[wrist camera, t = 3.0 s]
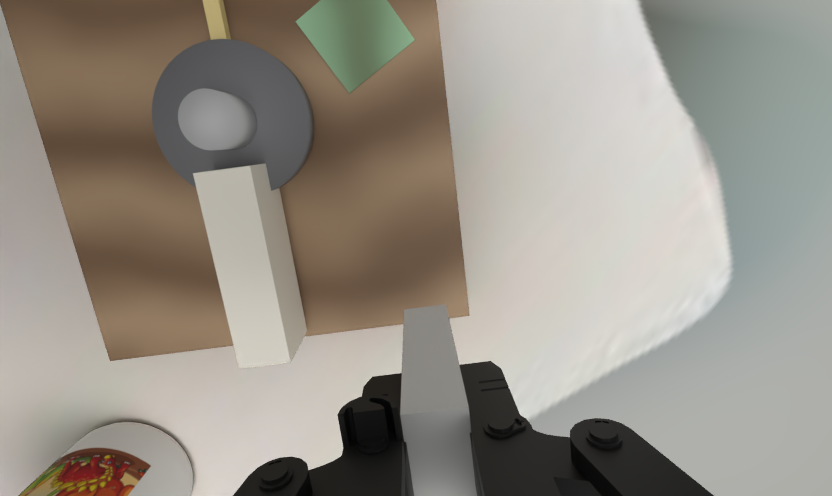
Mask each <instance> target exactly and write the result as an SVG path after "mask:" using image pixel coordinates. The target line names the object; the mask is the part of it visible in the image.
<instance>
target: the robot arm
mask: <svg viewBox="0 0 832 496" xmlns="http://www.w3.org/2000/svg"><path fill="white" fill-rule="evenodd" d="M338 420H339V425H340V431H341V436H342V442H343V447H344V448H343V453H342V456H341V457H339V458H338V459H336V460H334V461H333V462H330V463H328V464H326V465H323V466H320V467H317V468H314V469H312V470H309V471H308V466H307V463H305V462H304V461H303V460H302V459H300V458H295V457H283V458H278V459H275V460H272V461H269V462H267V463H265V464H264V465H262V466H260V467H258V468H257V469H256V470H255V471H254V472H253V473H252V474H250V475H249V476H248V478H247V479H246V480H245V481H244V483H243V484H242V485H241V486H240V488H239V489H238V490H237V491H236V493H235V494H234V495H233V496H713V495H712V494H711V493H710V492H708V491H707V490H706V489H705V488H704V487H702V486H701V485H700V484H699V483H697V482H696V481H695V480H694V479H692V478H691V477H690V476H689V475H687V474H686V473H685V472H683V471H682V470H681V469H680V468H679V467H677V466H676V465H675V464H674V463H673V462H671V461H670V460H669V459H668V458H666V457H665V456H664V455H663V454H661V453H660V452H659V451H658V450H656V449H655V448H654V447H653V446H651V445H650V444H649V443H648V442H647V441H645V440H644V439H643V438H642V437H640V436H639V435H638V434H637V433H635V432H634V431H633V430H631V429H630V428H628V427H627V426H625V425H623V424H622V423H619V422H616V421H612V420H609V419H598V418H595V419H588V420H583V421H581V422H579V423H577V424H575V425H574V427H573V428H572V429H571V431H570V437H560V436H552V435H546V434H543V433H540V432H537V431H535V430H533V429H532V426H531V425H530V423H529V422H528V421H527V419H526V418H524V417H522V416H520V414H519V412H518V409H517V407H516V404H515V402H514V399H513V397H512V394H511V392H510V389H509V388H508V385H507V382H506V380H505V377H504V375H503V372H502V370H501V368H499V367H498V366H497V365H495V364H494V363H492V362H491V361H488V362H480V363H472V364H463V365H459V361H458V357H457V352H456V348H455V343H454V339H453V334H452V330H451V326H450V321H449V317H448V312H447V308H446V304H444V305H436V306H428V307H420V308H412V309H404V327H403V354H402V373H400V374H392V375H384V376H375V377H372V378H371V379H370V380H369V381H368V382H367V384H366V385H365V386H364V388H363V393H362V397H359V398H357V399H355V400H352V401H350V402H348V403H347V404H346V405H345V406H343V407H342V408H341V410H340V411H339V413H338Z"/></svg>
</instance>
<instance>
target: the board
mask: <svg viewBox="0 0 832 496" xmlns="http://www.w3.org/2000/svg"><path fill="white" fill-rule="evenodd" d="M223 2H224V7H225V12H226V17H227V22H228V27H229V32H230V37H231V39H232V40H238V41H243V42H246V43H249V44H252V45H254V46H257V47H259V48H260V49H262V50H264V51H266V52H268V53H269V54H271V55H272V56H274V57H275V58H277V59H278V60H280V61H281V62H283V63H284V64H285V65H286V66H287V67H288V68H289V69H290V70H291V71H292V72H293V73H294V74H295V75H296V77H297V78H298V79H299V81H300V82H301V84H302V85H303V87H304V89H305V91H306V93H307V95H308V97H309V100H310V103H311V106H312V110H313V115H314V138H313V144H312V148H311V151H310V154H309V156H308V158H307V160H306V162H305V164H304V165H303V167H302V169H301V170H300V171H299V172H298V173H297V175H296V176H295V177H294V178H293V179H291V180H290V181H289V182H288V183H286V184H285V185H284V186H282V187H280V188H279V189H280V194H281V199H282V204H283V209H284V215H285V220H286V225H287V230H288V235H289V240H290V245H291V251H292V256H293V261H294V266H295V271H296V276H297V281H298V286H299V292H300V297H301V302H302V307H303V312H304V317H305V322H306V328H307V332H306V334H305V336H312V335H320V334H328V333H336V332H343V331H351V330H359V329H367V328H375V327H383V326H391V325H399V324H404V309H412V308H420V307H428V306H436V305H444V304H446V308H447V312H448V317H449V318H454V317H462V316H469V307H468V297H467V288H466V278H465V269H464V259H463V250H462V240H461V231H460V222H459V212H458V203H457V193H456V184H455V174H454V165H453V155H452V146H451V136H450V127H449V117H448V108H447V98H446V89H445V79H444V70H443V60H442V51H441V42H440V32H439V23H438V13H437V4H436V0H223ZM0 4H1V7H2V11H3V14H4V17H5V20H6V24H7V27H8V30H9V33H10V37H11V40H12V43H13V47H14V50H15V53H16V56H17V60H18V63H19V66H20V69H21V73H22V76H23V79H24V82H25V86H26V89H27V92H28V95H29V99H30V102H31V105H32V108H33V112H34V115H35V118H36V121H37V125H38V128H39V131H40V134H41V138H42V141H43V144H44V147H45V151H46V154H47V157H48V161H49V164H50V167H51V170H52V174H53V177H54V180H55V183H56V187H57V190H58V193H59V196H60V200H61V203H62V206H63V209H64V213H65V216H66V219H67V222H68V226H69V229H70V232H71V235H72V239H73V242H74V245H75V248H76V252H77V255H78V258H79V261H80V265H81V268H82V271H83V275H84V278H85V281H86V284H87V288H88V291H89V294H90V297H91V301H92V304H93V307H94V310H95V314H96V317H97V320H98V323H99V327H100V330H101V333H102V336H103V340H104V343H105V346H106V349H107V353H108V356H109V359H110V361H114V360H122V359H130V358H138V357H145V356H153V355H161V354H169V353H177V352H185V351H193V350H201V349H209V348H217V347H225V346H233V341H232V337H231V333H230V328H229V324H228V320H227V316H226V311H225V307H224V303H223V299H222V294H221V290H220V286H219V282H218V278H217V273H216V269H215V265H214V261H213V256H212V252H211V248H210V244H209V240H208V235H207V231H206V227H205V223H204V218H203V214H202V210H201V206H200V202H199V197H198V193H197V189H196V187H194V186H192V185H191V184H189V183H188V182H187V181H186V180H184V179H183V178H182V177H181V176H180V175H179V174H178V173H177V172H176V171H175V170H174V169H173V168H172V166H171V165H170V164H169V163H168V161H167V160H166V158H165V156H164V155H163V153H162V151H161V149H160V147H159V145H158V142H157V139H156V136H155V133H154V128H153V123H152V101H153V96H154V91H155V88H156V85H157V82H158V80H159V78H160V76H161V74H162V72H163V71H164V69H165V68H166V67H167V65H168V64H169V63H170V62H171V61H172V60H173V59H174V58H175V57H176V56H177V55H178V54H180V53H181V52H182V51H183V50H185V49H187V48H189V47H191V46H192V45H195V44H198V43H200V42H203V41H208V40H211V38H210V33H209V28H208V24H207V19H206V14H205V10H204V5H203V0H0Z"/></svg>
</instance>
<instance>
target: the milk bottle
mask: <svg viewBox="0 0 832 496" xmlns="http://www.w3.org/2000/svg"><path fill="white" fill-rule="evenodd" d="M192 487H193V471H192V467H191V463H190V461H189V459H188V457H187V454H186V452H185V451H184V450H183V449H182V447H181V446H180V445H179V444H178V443H177V442H176V441H175V440H174V439H173V438H172V437H171V436H169V435H168V434H166V433H164V432H163V431H161V430H159V429H157V428H154V427H152V426H150V425H145V424H141V423H135V422H121V423H113V424H110V425H106V426H103V427H100V428H97V429H95V430H93V431H91V432H89V433H88V434H86V435H85V436H84V437H83V438H81V439H80V440H79V441H78V442H77V443H76V444H74V445H73V446H72V447H71V448H70V449H69V450H68V451H67V452H65V453H64V454H63V455H62V456H61V457H60V458H59V459H58V460H57V461H56V462H54V463H53V464H52V465H51V466H50V467H49V468H48V469H47V470H46V471H45V472H43V473H42V474H41V475H40V476H39V477H38V478H37V479H36V480H35V481H34V482H33V483H31V484H30V485H29V486H28V487H27V488H26V489H25V490H24V491H23V492H22V493H21V494H20V495H18V496H191V493H192Z"/></svg>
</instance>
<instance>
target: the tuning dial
mask: <svg viewBox="0 0 832 496" xmlns="http://www.w3.org/2000/svg"><path fill="white" fill-rule="evenodd" d="M203 5H204V10H205V14H206V19H207V24H208V28H209V33H210V38H211V40H208V41H203V42H200V43H198V44H195V45H192V46H191V47H189V48H187V49H185V50H183V51H182V52H181V53H180V54H178V55H177V56H176V57H175V58H174V59H173V60H172V61H171V62H170V63H169V64H168V65H167V67H166V68H165V69H164V71H163V72H162V74H161V76H160V78H159V80H158V82H157V85H156V88H155V91H154V96H153V101H152V123H153V128H154V133H155V136H156V139H157V142H158V145H159V147H160V149H161V151H162V153H163V155H164V156H165V158H166V160H167V161H168V163H169V164H170V165H171V166H172V168H173V169H174V170H175V171H176V172H177V173H178V174H179V175H180V176H181V177H182V178H183V179H184V180H186V181H187V182H188V183H189V184H191V185H192V186H194V187H196V189H197V193H198V197H199V202H200V206H201V210H202V214H203V218H204V223H205V227H206V231H207V235H208V240H209V244H210V248H211V252H212V256H213V261H214V265H215V269H216V273H217V278H218V282H219V286H220V290H221V294H222V299H223V303H224V307H225V311H226V316H227V320H228V324H229V328H230V333H231V337H232V341H233V345H234V349H235V354H236V358H237V362H238V366H239V369H244V368H252V367H260V366H268V365H276V364H284V363H291V361H292V359H293V357H294V355H295V353H296V351H297V349H298V348H299V346H300V344H301V342H302V340H303V338H304V336H305V334H306V332H307V328H306V322H305V317H304V312H303V307H302V302H301V297H300V292H299V286H298V281H297V276H296V271H295V266H294V261H293V256H292V251H291V245H290V240H289V235H288V230H287V225H286V220H285V215H284V209H283V204H282V199H281V194H280V189H279V188H280V187H282V186H284V185H285V184H286V183H288V182H289V181H290V180H291V179H293V178H294V177H295V176H296V175H297V173H298V172H299V171H300V170H301V169H302V167H303V165H304V164H305V162H306V160H307V158H308V156H309V154H310V151H311V148H312V144H313V138H314V115H313V110H312V106H311V103H310V100H309V97H308V95H307V93H306V91H305V89H304V87H303V85H302V84H301V82H300V81H299V79H298V78H297V77H296V75H295V74H294V73H293V72H292V71H291V70H290V69H289V68H288V67H287V66H286V65H285V64H284V63H283V62H281V61H280V60H278V59H277V58H275V57H274V56H272V55H271V54H269V53H268V52H266V51H264V50H262V49H260V48H259V47H257V46H254V45H252V44H249V43H246V42H243V41H238V40H232V39H231V37H230V32H229V27H228V22H227V17H226V12H225V7H224V2H223V0H203Z"/></svg>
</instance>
